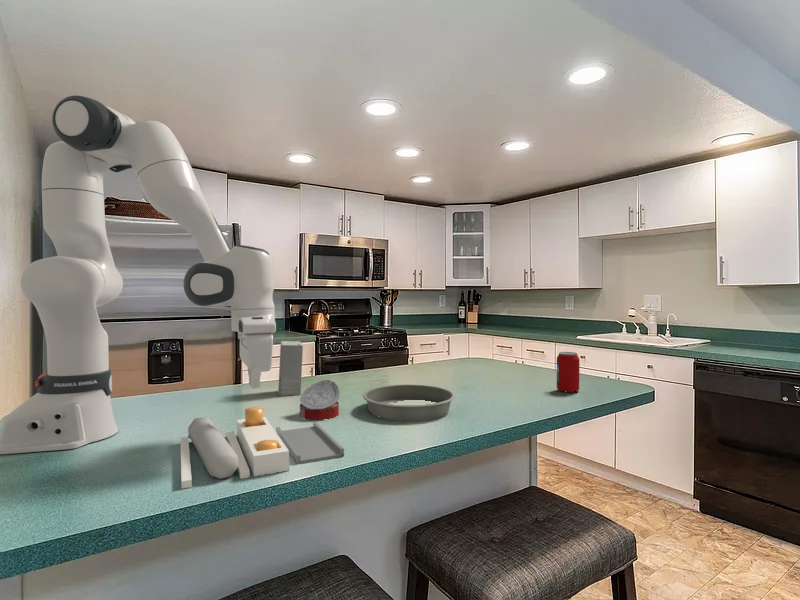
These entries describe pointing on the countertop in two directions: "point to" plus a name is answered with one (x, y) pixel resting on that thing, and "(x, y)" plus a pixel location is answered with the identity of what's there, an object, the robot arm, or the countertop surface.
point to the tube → (213, 448)
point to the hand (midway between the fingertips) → (254, 386)
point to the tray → (310, 444)
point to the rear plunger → (253, 416)
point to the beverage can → (568, 371)
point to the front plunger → (266, 445)
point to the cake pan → (395, 393)
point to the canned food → (320, 401)
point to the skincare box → (290, 368)
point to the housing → (248, 439)
